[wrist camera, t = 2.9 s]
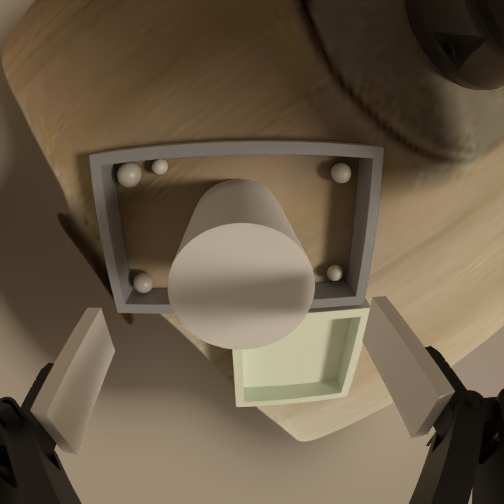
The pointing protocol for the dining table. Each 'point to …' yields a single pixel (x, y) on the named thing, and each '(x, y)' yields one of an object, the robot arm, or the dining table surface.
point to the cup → (240, 269)
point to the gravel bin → (130, 173)
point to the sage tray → (304, 360)
